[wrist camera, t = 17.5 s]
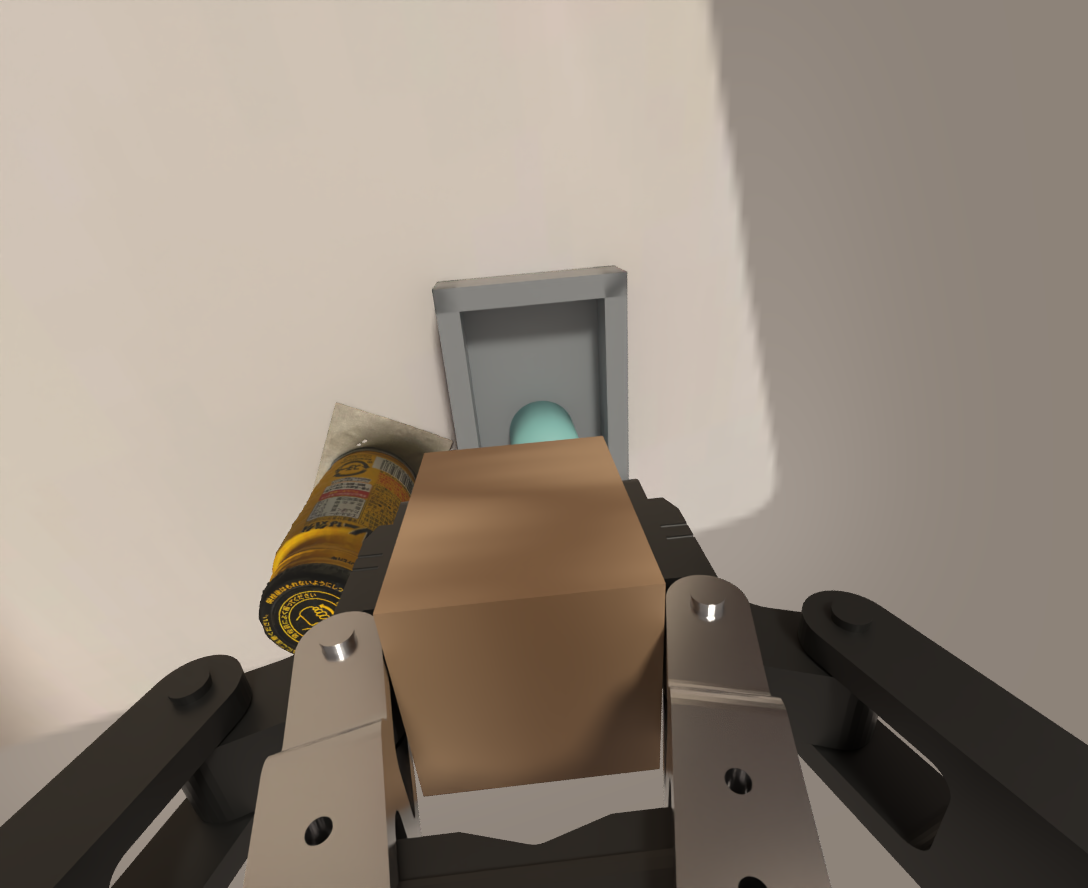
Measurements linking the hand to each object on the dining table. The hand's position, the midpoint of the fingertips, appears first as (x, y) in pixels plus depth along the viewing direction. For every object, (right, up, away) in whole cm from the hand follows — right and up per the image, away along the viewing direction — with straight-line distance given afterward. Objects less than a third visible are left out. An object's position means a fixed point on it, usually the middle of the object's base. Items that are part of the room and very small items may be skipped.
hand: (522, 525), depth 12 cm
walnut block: (0, 0, 0) cm, 0 cm away
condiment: (-10, 0, +22) cm, 24 cm away
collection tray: (0, +6, +20) cm, 21 cm away
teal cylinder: (0, +3, +20) cm, 20 cm away
